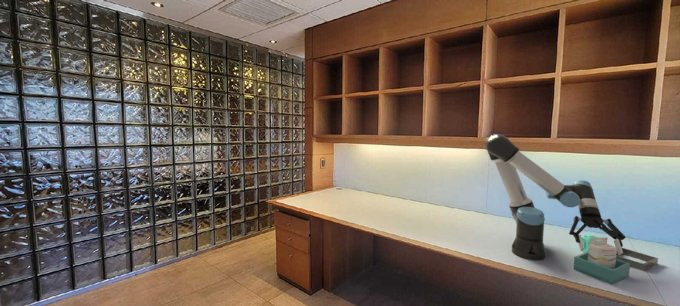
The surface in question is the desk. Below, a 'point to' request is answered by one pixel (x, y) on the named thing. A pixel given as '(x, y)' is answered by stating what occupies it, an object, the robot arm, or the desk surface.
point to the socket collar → (641, 266)
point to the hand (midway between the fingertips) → (601, 251)
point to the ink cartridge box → (602, 253)
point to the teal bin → (602, 269)
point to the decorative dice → (587, 241)
